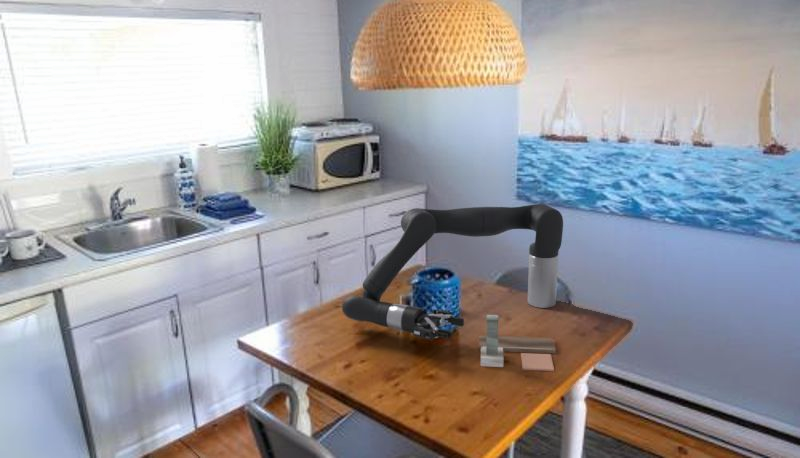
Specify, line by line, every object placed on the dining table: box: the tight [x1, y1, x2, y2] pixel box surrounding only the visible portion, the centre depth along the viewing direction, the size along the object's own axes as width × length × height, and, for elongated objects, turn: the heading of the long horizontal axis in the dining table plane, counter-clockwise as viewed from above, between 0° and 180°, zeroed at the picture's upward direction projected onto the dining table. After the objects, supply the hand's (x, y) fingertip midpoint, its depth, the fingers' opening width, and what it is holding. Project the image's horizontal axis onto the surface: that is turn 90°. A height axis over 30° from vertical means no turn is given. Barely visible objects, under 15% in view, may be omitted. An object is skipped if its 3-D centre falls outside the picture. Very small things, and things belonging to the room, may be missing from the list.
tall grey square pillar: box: [480, 314, 504, 368], centre depth 153 cm, size 6×6×13 cm
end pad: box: [520, 352, 555, 372], centre depth 153 cm, size 8×8×1 cm
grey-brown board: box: [478, 335, 556, 354], centre depth 162 cm, size 7×21×1 cm, turn 82°
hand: (457, 328), depth 157 cm, fingers open, 8 cm apart
